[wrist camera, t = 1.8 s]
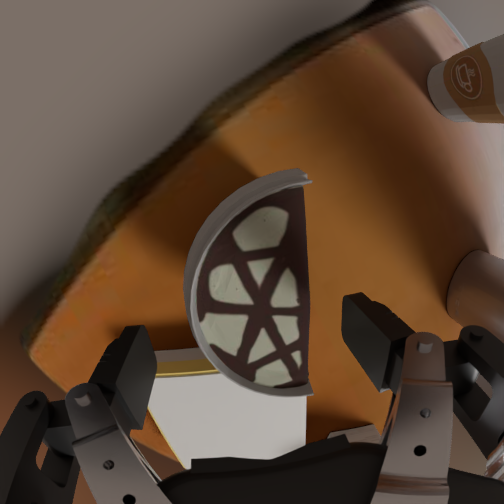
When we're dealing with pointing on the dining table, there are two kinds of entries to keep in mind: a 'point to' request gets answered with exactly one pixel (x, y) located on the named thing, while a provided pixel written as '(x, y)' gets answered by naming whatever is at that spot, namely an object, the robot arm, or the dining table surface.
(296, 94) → the dining table surface
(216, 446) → the white flat block
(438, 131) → the dining table surface
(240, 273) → the food container
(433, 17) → the dining table surface
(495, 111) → the coffee cup
